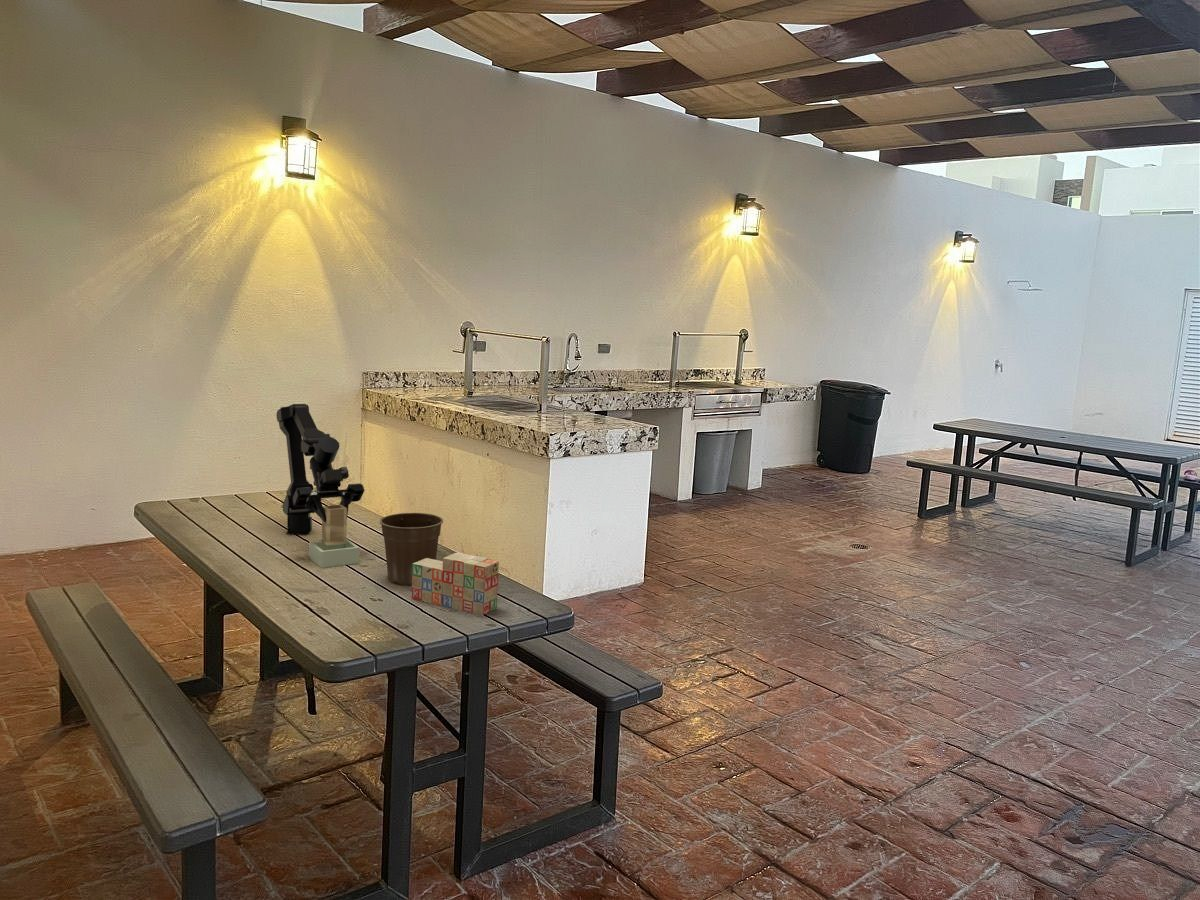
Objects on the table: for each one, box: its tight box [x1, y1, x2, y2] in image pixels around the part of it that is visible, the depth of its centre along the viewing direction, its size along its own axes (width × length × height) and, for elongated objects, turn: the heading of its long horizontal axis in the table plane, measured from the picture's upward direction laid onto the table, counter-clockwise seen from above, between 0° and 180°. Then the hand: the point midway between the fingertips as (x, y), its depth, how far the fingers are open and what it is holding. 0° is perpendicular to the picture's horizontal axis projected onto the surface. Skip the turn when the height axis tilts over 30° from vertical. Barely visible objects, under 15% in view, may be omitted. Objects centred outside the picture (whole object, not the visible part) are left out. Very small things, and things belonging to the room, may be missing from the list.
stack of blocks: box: [411, 552, 500, 616], centre depth 224 cm, size 21×6×12 cm, turn 64°
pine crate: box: [321, 504, 348, 545], centre depth 254 cm, size 5×5×10 cm
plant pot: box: [379, 512, 444, 586], centre depth 241 cm, size 16×16×16 cm
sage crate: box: [308, 538, 360, 569], centre depth 255 cm, size 11×11×4 cm
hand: (335, 520), depth 252 cm, fingers closed on pine crate, 5 cm apart
